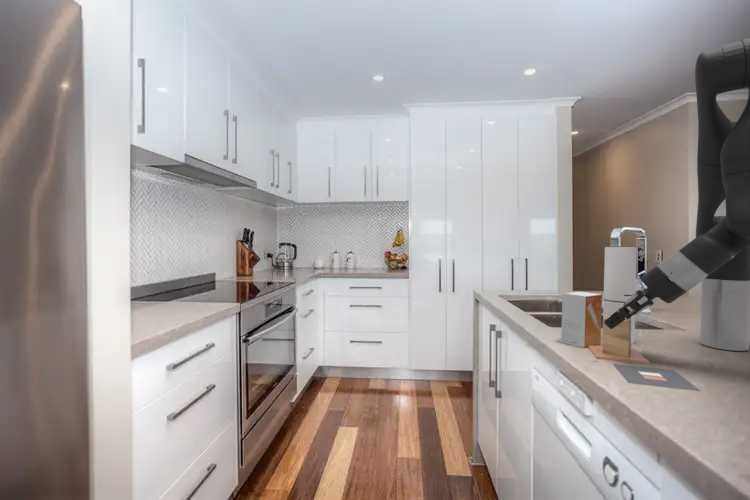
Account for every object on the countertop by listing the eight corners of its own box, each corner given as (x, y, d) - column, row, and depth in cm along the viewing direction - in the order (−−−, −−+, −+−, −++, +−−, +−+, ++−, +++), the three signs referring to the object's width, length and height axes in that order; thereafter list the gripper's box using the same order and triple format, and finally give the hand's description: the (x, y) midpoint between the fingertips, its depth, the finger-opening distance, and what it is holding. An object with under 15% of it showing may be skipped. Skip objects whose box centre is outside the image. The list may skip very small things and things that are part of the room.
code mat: (612, 364, 83) (612, 363, 83) (673, 370, 80) (673, 369, 80) (628, 383, 72) (628, 382, 72) (700, 391, 68) (700, 390, 68)
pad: (588, 347, 96) (588, 345, 96) (634, 351, 93) (635, 349, 93) (596, 359, 87) (596, 356, 87) (648, 364, 84) (649, 361, 84)
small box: (584, 348, 96) (585, 296, 95) (560, 342, 101) (561, 293, 101) (601, 344, 100) (602, 293, 100) (577, 338, 105) (578, 291, 105)
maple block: (605, 348, 93) (606, 315, 93) (630, 352, 90) (631, 318, 90) (602, 353, 90) (602, 318, 89) (627, 357, 86) (628, 321, 86)
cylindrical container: (640, 344, 100) (643, 247, 100) (612, 343, 100) (615, 247, 100) (623, 337, 107) (625, 247, 107) (597, 337, 107) (599, 247, 107)
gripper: (660, 262, 90) (603, 306, 98) (656, 265, 79) (591, 314, 87) (689, 287, 87) (627, 330, 95) (688, 293, 76) (618, 341, 84)
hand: (610, 322), depth 91 cm, fingers open, 8 cm apart
